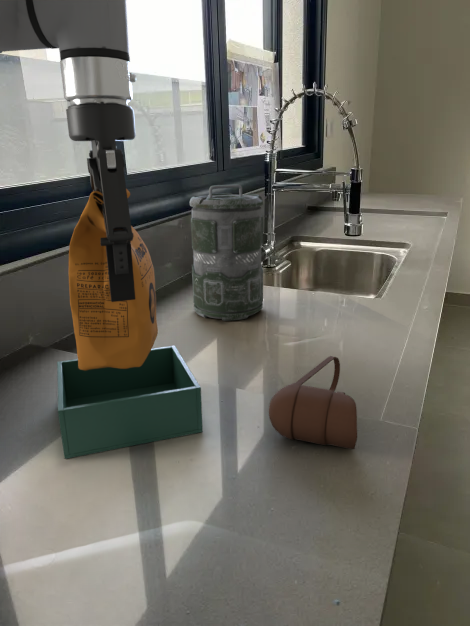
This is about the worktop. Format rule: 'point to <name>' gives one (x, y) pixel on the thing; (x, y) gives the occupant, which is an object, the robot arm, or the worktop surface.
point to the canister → (227, 254)
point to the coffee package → (109, 298)
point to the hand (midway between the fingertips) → (116, 286)
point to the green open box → (127, 403)
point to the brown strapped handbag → (315, 412)
